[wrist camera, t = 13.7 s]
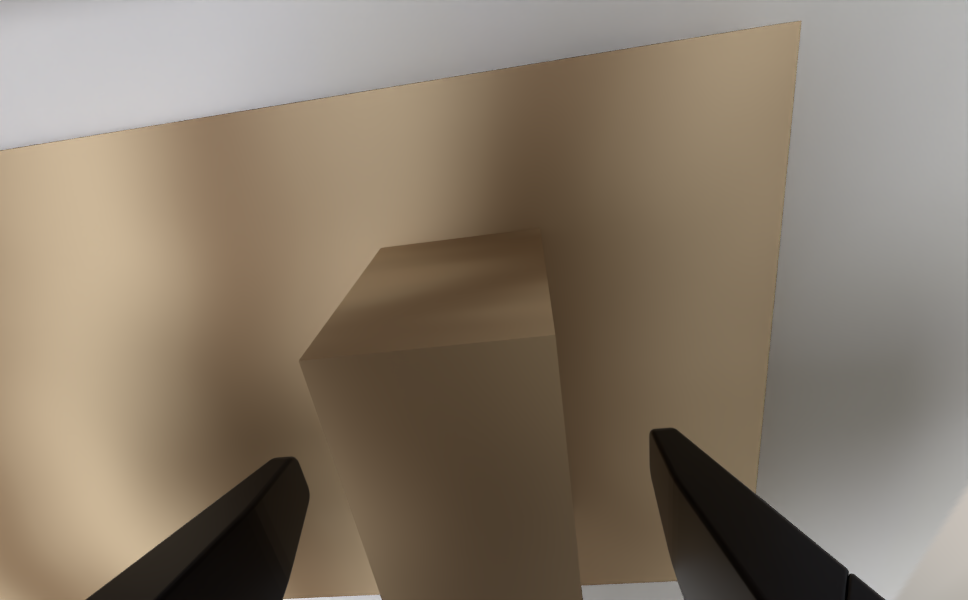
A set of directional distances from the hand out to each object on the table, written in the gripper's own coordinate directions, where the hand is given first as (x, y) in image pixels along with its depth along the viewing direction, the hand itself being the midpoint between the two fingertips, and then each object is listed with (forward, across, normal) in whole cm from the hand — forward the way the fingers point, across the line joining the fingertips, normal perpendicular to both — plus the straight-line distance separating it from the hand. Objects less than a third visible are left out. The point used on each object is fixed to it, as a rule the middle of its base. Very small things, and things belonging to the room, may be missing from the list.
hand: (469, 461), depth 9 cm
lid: (+3, +5, 0) cm, 6 cm away
